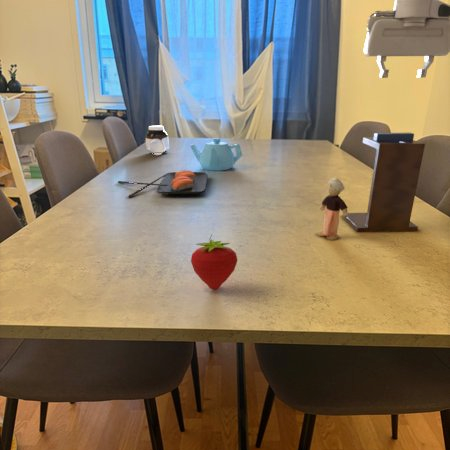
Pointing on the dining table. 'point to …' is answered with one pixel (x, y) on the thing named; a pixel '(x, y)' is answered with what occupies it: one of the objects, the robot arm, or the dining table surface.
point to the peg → (393, 137)
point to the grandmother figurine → (333, 209)
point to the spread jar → (157, 140)
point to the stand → (391, 187)
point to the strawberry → (214, 263)
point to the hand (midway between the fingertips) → (402, 77)
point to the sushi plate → (178, 183)
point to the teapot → (217, 155)
